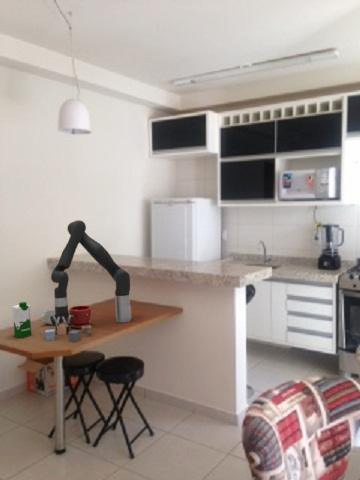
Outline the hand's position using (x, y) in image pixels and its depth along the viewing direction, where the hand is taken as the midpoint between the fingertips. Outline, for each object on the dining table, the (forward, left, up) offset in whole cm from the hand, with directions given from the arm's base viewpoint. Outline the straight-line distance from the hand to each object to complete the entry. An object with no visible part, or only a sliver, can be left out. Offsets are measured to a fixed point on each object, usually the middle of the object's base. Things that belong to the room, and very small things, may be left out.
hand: (62, 332), depth 253 cm
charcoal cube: (-11, +13, -1) cm, 17 cm away
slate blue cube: (+4, +10, -1) cm, 11 cm away
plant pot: (-7, -14, -1) cm, 16 cm away
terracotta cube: (0, 0, 0) cm, 0 cm away
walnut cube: (-16, +4, -1) cm, 16 cm away
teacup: (+14, -20, -1) cm, 25 cm away
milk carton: (+23, +3, -1) cm, 23 cm away
